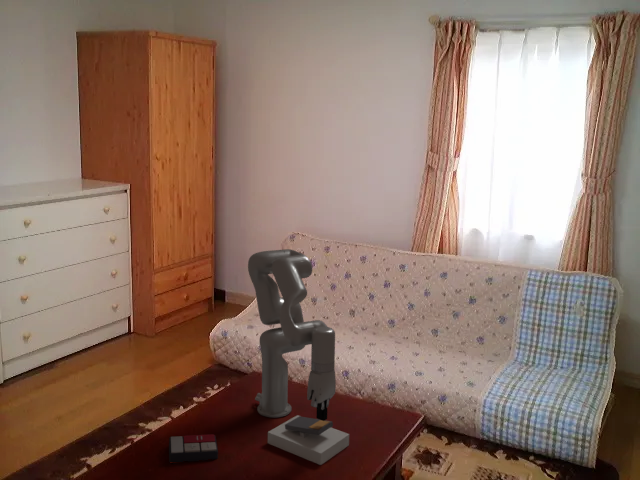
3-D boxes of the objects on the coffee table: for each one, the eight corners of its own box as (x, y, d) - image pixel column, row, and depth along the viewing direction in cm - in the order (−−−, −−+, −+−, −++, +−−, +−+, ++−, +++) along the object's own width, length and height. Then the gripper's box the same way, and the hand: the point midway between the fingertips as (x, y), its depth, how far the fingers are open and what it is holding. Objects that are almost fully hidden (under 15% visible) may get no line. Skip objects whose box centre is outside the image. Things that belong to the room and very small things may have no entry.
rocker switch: (285, 429, 212) (284, 424, 212) (300, 420, 218) (299, 415, 218) (318, 435, 203) (318, 429, 203) (333, 425, 210) (332, 420, 210)
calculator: (218, 449, 201) (169, 451, 197) (217, 461, 202) (169, 464, 198) (215, 432, 211) (169, 434, 208) (214, 444, 212) (168, 446, 208)
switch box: (267, 443, 212) (267, 427, 211) (297, 425, 225) (297, 411, 224) (320, 465, 199) (321, 449, 198) (348, 445, 212) (349, 430, 211)
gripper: (326, 356, 212) (325, 408, 215) (299, 369, 200) (298, 423, 203) (345, 361, 207) (344, 414, 211) (318, 375, 195) (317, 430, 199)
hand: (321, 418), depth 207 cm, fingers closed
